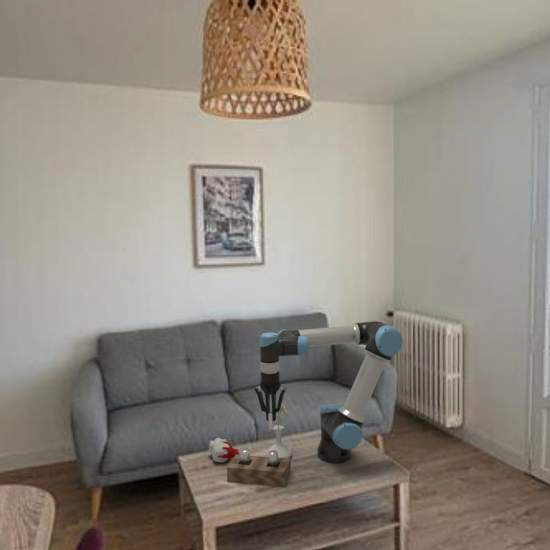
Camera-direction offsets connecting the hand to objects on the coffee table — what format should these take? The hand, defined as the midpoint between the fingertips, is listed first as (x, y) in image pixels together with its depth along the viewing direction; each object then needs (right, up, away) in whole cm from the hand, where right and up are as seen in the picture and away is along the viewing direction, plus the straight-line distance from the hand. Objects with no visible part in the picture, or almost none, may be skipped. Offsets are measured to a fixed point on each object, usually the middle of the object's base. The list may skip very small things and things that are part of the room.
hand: (271, 428), depth 204 cm
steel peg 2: (+1, -16, +1) cm, 16 cm away
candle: (-22, -21, +20) cm, 36 cm away
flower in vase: (+4, -20, +22) cm, 29 cm away
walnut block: (-5, -21, +3) cm, 22 cm away
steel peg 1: (-11, -16, +4) cm, 20 cm away
